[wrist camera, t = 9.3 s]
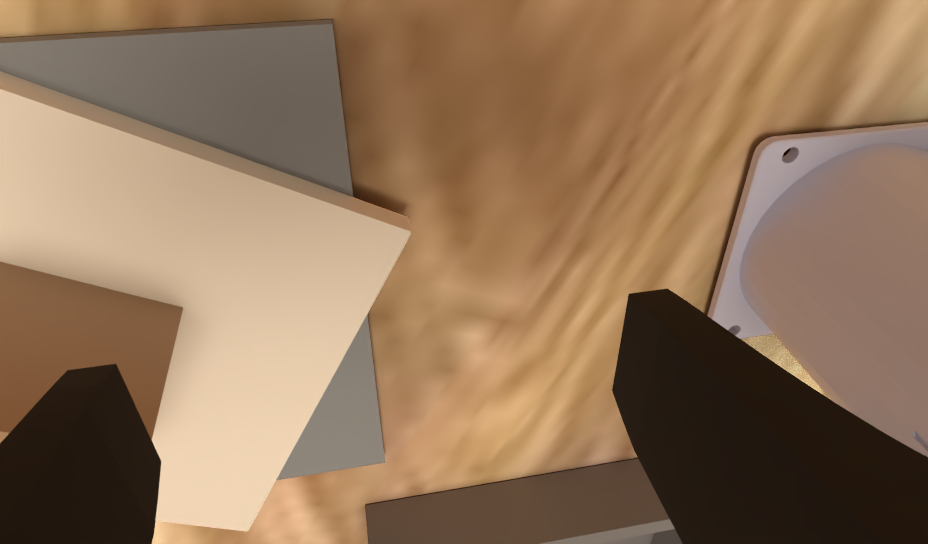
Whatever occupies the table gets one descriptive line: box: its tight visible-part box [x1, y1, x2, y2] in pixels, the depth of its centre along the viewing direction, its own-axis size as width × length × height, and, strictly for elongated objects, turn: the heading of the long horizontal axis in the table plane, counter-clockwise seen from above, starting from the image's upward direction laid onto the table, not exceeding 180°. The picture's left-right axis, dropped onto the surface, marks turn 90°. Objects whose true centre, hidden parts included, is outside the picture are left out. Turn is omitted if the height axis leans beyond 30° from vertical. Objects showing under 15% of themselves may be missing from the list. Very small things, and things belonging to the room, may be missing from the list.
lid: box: [0, 71, 412, 531], centre depth 16 cm, size 14×14×6 cm
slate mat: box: [0, 19, 385, 480], centre depth 19 cm, size 16×16×1 cm
